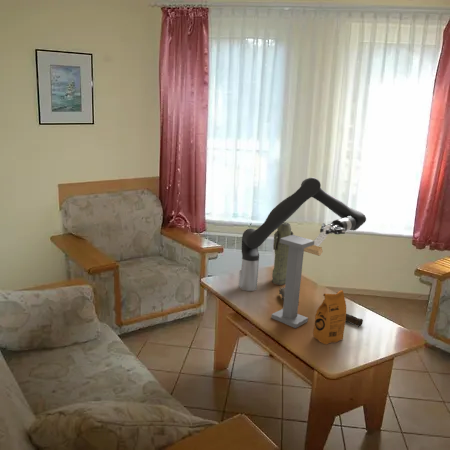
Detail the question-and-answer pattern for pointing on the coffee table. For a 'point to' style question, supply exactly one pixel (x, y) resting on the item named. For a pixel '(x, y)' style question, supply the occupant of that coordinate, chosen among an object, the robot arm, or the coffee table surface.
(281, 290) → the rhino figurine
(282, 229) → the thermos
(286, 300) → the headphone stand
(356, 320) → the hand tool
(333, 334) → the coffee package
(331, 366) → the coffee table surface
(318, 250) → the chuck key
